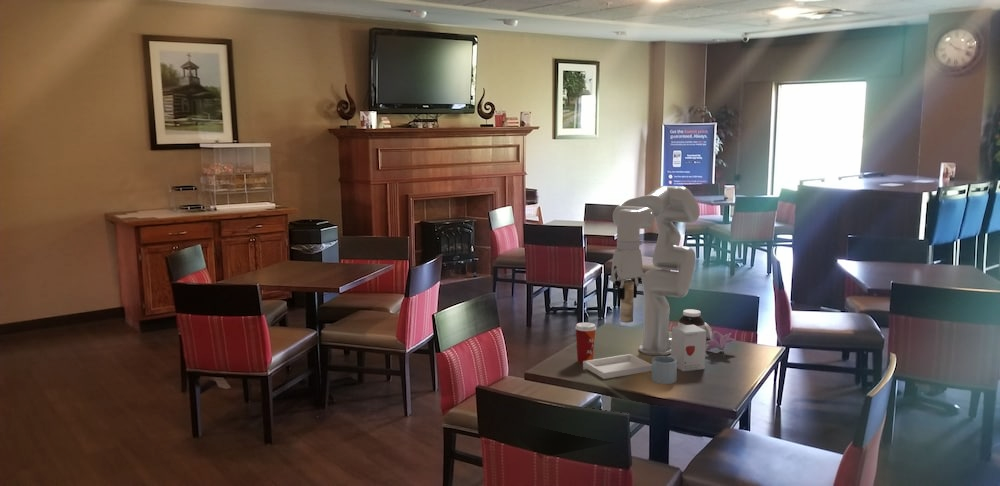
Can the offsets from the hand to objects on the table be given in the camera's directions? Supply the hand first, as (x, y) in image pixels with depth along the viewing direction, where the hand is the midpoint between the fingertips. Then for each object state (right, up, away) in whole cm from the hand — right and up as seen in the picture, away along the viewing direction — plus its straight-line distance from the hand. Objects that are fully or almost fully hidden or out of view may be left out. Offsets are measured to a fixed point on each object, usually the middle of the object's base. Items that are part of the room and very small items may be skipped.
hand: (626, 297), depth 251 cm
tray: (-2, -27, +6) cm, 27 cm away
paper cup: (-12, -25, +17) cm, 33 cm away
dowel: (0, -8, +1) cm, 8 cm away
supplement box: (+23, -26, +8) cm, 36 cm away
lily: (+39, -24, +25) cm, 52 cm away
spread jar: (+36, -20, +45) cm, 61 cm away
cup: (+12, -28, -5) cm, 31 cm away
